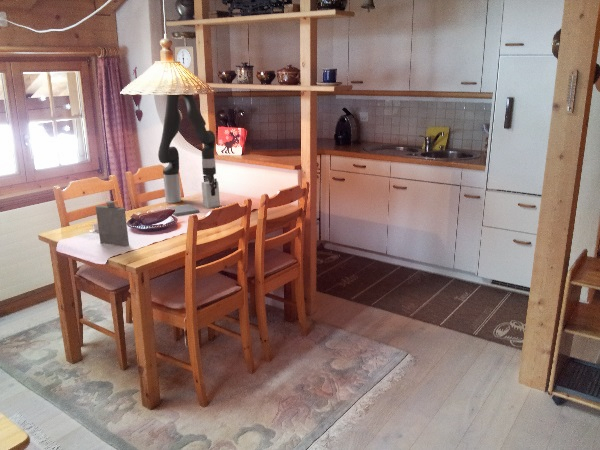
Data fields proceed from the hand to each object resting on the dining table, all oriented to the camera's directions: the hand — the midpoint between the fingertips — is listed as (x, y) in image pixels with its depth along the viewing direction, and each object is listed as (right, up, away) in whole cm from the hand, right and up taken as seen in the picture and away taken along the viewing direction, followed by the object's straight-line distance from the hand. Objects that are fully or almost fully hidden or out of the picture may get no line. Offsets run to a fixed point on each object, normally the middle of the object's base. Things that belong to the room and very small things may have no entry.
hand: (211, 194), depth 307 cm
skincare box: (0, -7, +2) cm, 7 cm away
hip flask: (-34, -27, -62) cm, 75 cm away
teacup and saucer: (-49, -22, -43) cm, 69 cm away
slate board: (-15, -10, -7) cm, 19 cm away
